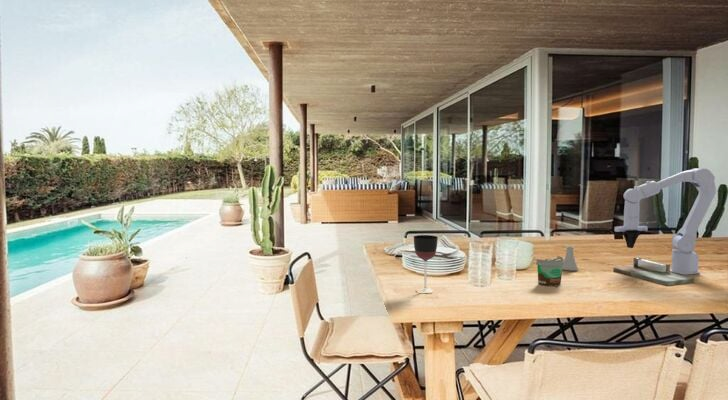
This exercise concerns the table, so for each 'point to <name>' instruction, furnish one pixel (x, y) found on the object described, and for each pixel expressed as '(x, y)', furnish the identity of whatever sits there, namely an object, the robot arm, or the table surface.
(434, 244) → the wineglass
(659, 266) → the lock bar
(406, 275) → the table surface
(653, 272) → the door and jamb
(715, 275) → the table surface
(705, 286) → the table surface
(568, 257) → the flask
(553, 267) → the food container
